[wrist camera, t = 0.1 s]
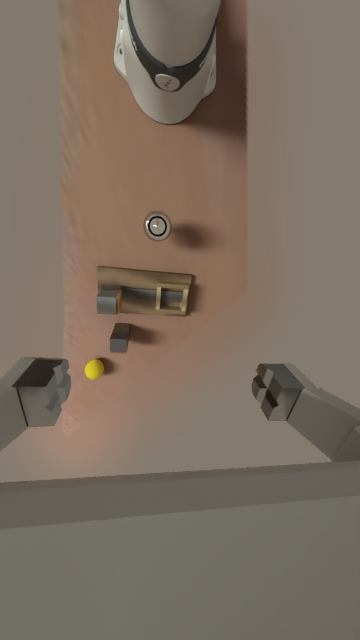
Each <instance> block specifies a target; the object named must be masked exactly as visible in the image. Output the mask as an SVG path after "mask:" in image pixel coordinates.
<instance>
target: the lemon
mask: <svg viewBox="0 0 360 640" xmlns="http://www.w3.org/2000/svg"><path fill="white" fill-rule="evenodd" d="M103 371H104V365H103V363H102V362H101V361H100V360H97V359H93V360H91V361H90V362H88V363H87V365H86V367H85V373H86V376H87V377H88V378H90V379H93V380H95V379H98V378H99V377H100V376H101V375H102V374H103Z"/></svg>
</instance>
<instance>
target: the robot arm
mask: <svg viewBox="0 0 360 640" xmlns="http://www.w3.org/2000/svg"><path fill="white" fill-rule="evenodd" d="M220 3H221V0H121V3H120V7H119V23H118V30H117V38H116V45H115V53H114V64H115V67H116V69H117V71H118V72H119V73H120V75H121V76H122V77H123V78H124V79H125V80H126V81H127V83H128V84H129V86H130V88H131V91H132V93H133V95H134V97H135V99H136V101H137V103H138V105H139V106H140V107H141V109H142V110H143V111H144V112H145V113H146V114H147V115H148V116H149V117H151V118H152V119H154V120H155V121H158V122H160V123H164V124H174V123H178V122H180V121H182V120H184V119H185V118H187V117H188V116H189V115H190V114H191V113H192V112H193V110H194V109H195V108H196V106H197V105H198V103H199V102H200V101H201V99H203V98H205V97H206V96H208V95H209V94H211V93H212V92H213V90H214V88H215V84H216V24H217V17H218V10H219V7H220ZM121 51H122V55H121V54H120V52H121ZM210 76H211V77H210ZM68 369H69V364H68V360H67V359H61V358H37V357H24V358H21V359H19V360H18V361H17V363H16V364H15V365H14V366H13V367H12V368H11V369H10V370H9V371H8V372H7V373H6V374H5V375H4V376H3V377H2V378H1V379H0V451H1V450H2V449H4V448H5V447H6V446H7V445H8V444H10V443H11V442H12V441H13V440H14V439H16V438H17V437H18V436H19V435H20V434H22V433H23V432H24V431H25V430H26V429H27V427H40V426H54V425H55V423H56V421H57V419H58V416H59V415H60V412H61V411H62V409H61V404H62V403H64V402H65V401H66V400H67V398H68V396H69V392H70V388H71V377H70V375H68V374H67V373H66V372H67V370H68ZM256 371H257V374H258V375H257V376H256V377H254V378H253V382H252V392H253V395H254V397H255V398H256V400H258V401H259V402H260V403H261V409H262V411H263V413H264V414H265V416H266V418H267V419H268V421H287V422H288V423H289V424H290V425H291V426H292V427H294V428H295V429H296V430H297V431H298V432H300V433H301V434H302V435H303V436H304V437H305V438H306V439H308V440H309V441H310V442H311V443H312V444H313V445H315V446H316V447H317V448H318V449H319V450H320V451H322V452H323V453H324V454H325V455H326V456H327V457H329V458H330V459H331V460H332V461H331V462H326V463H325V462H324V463H309V464H294V465H277V466H261V467H246V468H230V469H214V470H199V471H183V472H166V473H149V474H134V475H117V476H101V477H86V478H85V477H84V478H68V479H53V480H36V481H21V482H4V483H0V640H360V409H359V408H357V407H355V406H353V405H351V404H350V403H348V402H345V401H344V400H342V399H340V398H338V397H336V396H334V395H332V394H331V393H329V392H326V391H325V390H323V389H321V388H317V387H316V386H315V385H314V384H313V383H312V382H311V381H310V380H309V379H308V378H307V377H306V376H305V375H304V374H303V373H302V372H301V371H300V370H299V369H298V368H297V367H296V366H295V365H293V364H291V363H284V364H283V363H281V364H262V363H261V364H259V365H258V367H257V370H256Z"/></svg>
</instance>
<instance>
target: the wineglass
mask: <svg viewBox="0 0 360 640" xmlns="http://www.w3.org/2000/svg"><path fill="white" fill-rule="evenodd" d="M143 228H144V232H145V234H146V235H147V237H148V238H149V239H151V240H153V241H156V242H161V241H164V240H165V239H167V238H168V237H169V235H170V233H171V230H172V224H171V220H170V218H169V217H168V216H167V214H165V213H164V212H162V211H152V212H150V213H149V214H148V215H147V216H146V217H145V219H144V223H143Z"/></svg>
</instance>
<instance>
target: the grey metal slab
mask: <svg viewBox="0 0 360 640" xmlns="http://www.w3.org/2000/svg"><path fill="white" fill-rule="evenodd" d="M129 336H130V324H128V323H116V324H115V326H114V329H113V332H112V335H111V338H110V352H111V353H127V348H128V342H129Z"/></svg>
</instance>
